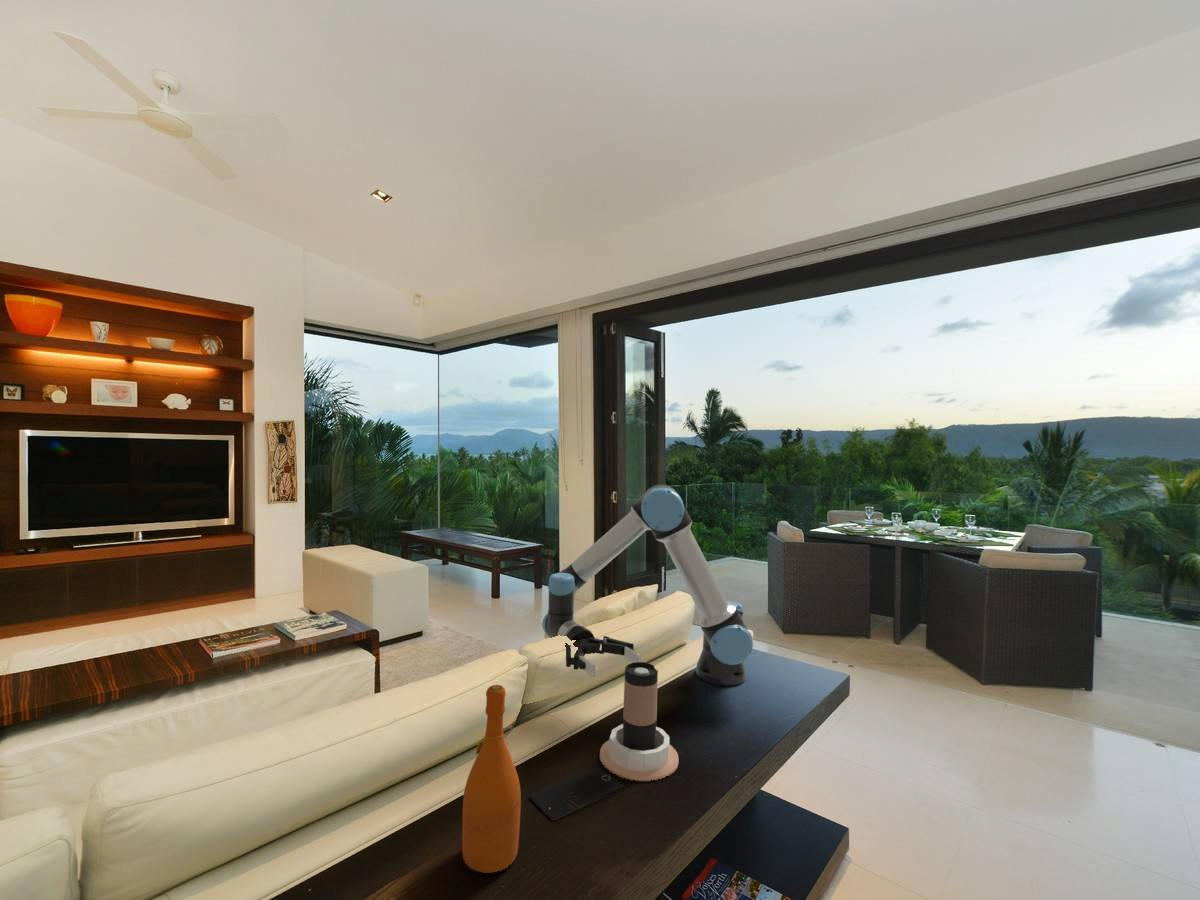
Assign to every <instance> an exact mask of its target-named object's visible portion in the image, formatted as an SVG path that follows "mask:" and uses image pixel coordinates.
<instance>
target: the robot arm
mask: <svg viewBox="0 0 1200 900" xmlns="http://www.w3.org/2000/svg"><path fill="white" fill-rule="evenodd" d="M692 524H693V520H692V518H691V517H690V514H689V513H688V511H687V509H686V507H685V505H684V501H683V499H682V498H681V496H680V495H679V493H678V492H677V491H676V489H675V488H674V487H672V486H670V485H669V484H664V483H660V484H659V483H658V484H654V485H652V486H650V487H649V488H647V490H646V491H645V492H644V493H643V494H642V496H641V497H640V498H639V499H638V500H637V501H636V502H635V503H634V504H633V505H631V507H630V512H628V513H627V514H626V515H625V516H624V517H623V518H621V519H620V520H619V521H618V522H617V523H616V524H615V525H614V526H612V527H611V528H610V529H609V530H608V531H607V532H606V533H605V534H604V535H602V536H601V537H600V538H598V540H596V542H594V543H592V545H591V546H589V548H587V549H586V550H585V551H584V552H583V553H581V554H580V555H579V556H578V557H576V559H575V560H573V562H571V564H570V565H568V566H566V567H565V568H564V569H562V570H561V571H560V572H556V573H553V574H551V575H550V576H549V579H548V580H549V581H548V585H547V588H548V606H547V607H548V610H547V613H546V614H545V615H544V617H543V619H542V623H541V626H542V629H543V630H542V631H543V632H544V633H545V635H547V636H548V637H549V638H550V639H551V638H552V637H555V636H558V635H560V636H567V637H568V638H569V639H570V640H571V641H572V640H576V641H575V642H574V643H573V645H574V646H575V647H578V650H577V651H576V653H575V654H573V655H574V656H573V657H572V652H571V648H570V647H571V645H568V644H567V643H565V644H566V645H565V647H566V656H565V667H566V668H571V666H573V669H574V670H578V669H580V670H583V671H584V672H585V673H587V674H588V675H589V676H591V677H596V675H595V674H596V664H595V663H593V662H592V661H590V660H589V659H587V658H586V657H585V656H586V655H591V654H593V655H594V654H601V655H604V654H605V653H606V654H613V655H617V656H624V659H626V660H628V662H630V663H635V662H642V655H641V654H640V653H638V652H637V651H635V648H634V647H635V645H634V643H631V642H627V641H623V640H619V639H615V638H611V637H609V636H606V635H605V636H604V635H603V637H602V639H599V638H596V637H595V636H594V633H593V632H592V630H590V629H588V628H586V627H585V626H583V625H582V624H580V623H579V622H577V621H575V620H574V614H575V613H574V612H575V610H574V609H575V596H576V593H577V592H578V591H579V590H580V589H581V588H582V587H583V586H584V585H585V584H586V583H587V582H588V581H589V580H591V579H592V578H593V577H594V576H595V575H597V574H598V573H599V572H600V571H601V570H602V569H604V568H605V567H606V566H607V565H608V564H609V563H611V561H613V559H616V557H618V555H620V554H621V553H622V552H623V551H624V550H625V549H627V548H628V547H629V546H630V545H632V543H633V542H635V541H636V540H637V539H638V538H639V537H641V536H642V535H643V534H644V533H645V532H646V531H651V532H652V534H653V537H654V538H655V540H656V541H658V542H661V543H663V544H664V546H665V548H666V550H667V552H668V555H669V556H670V558H671V561H672V562H673V563H674V566H675V568H676V570H677V572H678V574H679V575H680V578H681V579H682V582H683V583H684V586H685V587H686V590H687V591H688V593H689V595H690V598H691V599H692V601H693V603H694V605H695V607H696V609H697V611H698V613H699V615H700V620H699V622H698V624H699V626H700V629H701V631H702V633H703V635H702V636H703V638H702V639H703V640H702V649H701V652H700V655H699V658H698V659H697V662H696V666H695V669H696V670H695V674H696V676H697V677H698V678H699V679H700V680H702V681H704V682H707V683H710V684H714V685H719V686H737V685H740V684H742V683H744V682H745V681H746V679H747V673H746V668H745V664H744V662H745V661H747V660H748V659H749V657H750V655H751V654H752V651H753V648H754V642H753V636H752V634H751V631H749V630H748V628H747V626H746V624H745V622H744V620H743V619H744V618H743V617H744V616H743V614H744V607H743V605H742V604H741V603H738V602H737V601H736V602H735V601H730V600H729V601H728V600H727V599H726V597H725V595H724V593H723V590H722V589H721V587H720V585H719V583H718V580H717V579H716V576H715V575H714V573H713V571H712V569H711V567H710V565H709V564H708V563H709V562H707V559H706V558H705V556H704V554H703V552H702V549H701V547H700V546H699V544H698V542H697V539H696V538H695V535H694V534H693V532H692V531H691V527H692V526H693V525H692ZM585 654H586V655H585Z"/></svg>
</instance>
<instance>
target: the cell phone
mask: <svg viewBox="0 0 1200 900" xmlns="http://www.w3.org/2000/svg"><path fill="white" fill-rule="evenodd" d="M621 789H623V790H624V785H623V784H622V783H621V782H619V781H618V780H617V779H616V778H614V777H613V776H612V775H611V774H609V773H607V771H605V770H604V769H602V768H601V767H599V766H596V767H593V768H592V769H588V770H586V771H584V772H581V773H579V774H577V775H575V776H572V777H570V778H567V779H565V780H563V781H561V782H558V783H556V784H554V785H553V784H552V785H551V786H549V787H546V788H543V789H542V790H539V791H537V792H534V793H532V794H530V795H529V799H530V798H531V799H532V800H533V801H534V802H535V803H536V804H538V806H540V808H542V809H543V810H545V812H547V814H549V816H550V817H552V818H557V817H559V815H561V816H562V815H564V814H566V813H567V812H568V811H572V810H570V808H569V806H567V804H572V805H573V806H574V807H575V808H578V807H576V806H575V804H573V803H571V802H570V801H568V800H571V801H574V802H575V803H576V804H577V805H579V806H581V805H584V804H587V803H589V802H592V801H594V800H597V799H599V798H602V797H605V796H607V795H610V794H612V793H614V792H616V791H618V792H620V791H619V790H621ZM575 791H577V792H575ZM621 791H622V790H621ZM570 792H573V793H570ZM568 793H570V794H571V795H570V794H568ZM582 793H583V794H582ZM616 793H617V792H616ZM614 794H615V793H614ZM581 795H582V796H581ZM612 795H613V794H612ZM570 796H571V797H572V798H567V797H570ZM573 796H577V797H573ZM610 796H611V795H610ZM577 798H581V799H577ZM572 799H576V800H572ZM564 800H565V801H564ZM582 800H583V801H582ZM577 801H579V802H577ZM585 802H587V803H585ZM561 803H562V804H561ZM581 803H583V804H581ZM559 808H562V809H559ZM560 810H562V811H560ZM561 812H562V813H561Z"/></svg>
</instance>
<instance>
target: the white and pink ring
mask: <svg viewBox="0 0 1200 900" xmlns="http://www.w3.org/2000/svg"><path fill="white" fill-rule="evenodd" d="M599 760H600V762H602V763H601V765H602V766H603V765H604V766H603V767H604V768H605V769H606V768H607V769H608V770H609V771H608V770H607V769H606V770H607V771H608V772H609V773H611V772H612V773H611V774H613V775H614V774H616V775H615V776H617V775H618V776H617V777H618V778H619V777H620V778H621V777H622V778H621V779H624V778H626V779H625V780H628V779H629V781H633V780H635V781H636V782H654V781H653V780H655V781H658V779H660V780H663V779H665V777H666V776H668V777H670V776H671V775H673V773H675V771H676V770H677V769H678V767H679V762H680V761H679V754H678V752H677V750H676V749H675V748H674V746H672V745H671V744H670V735H669V734H667V732H666V731H665V730H664V729H662V728H661V727H658V726H656V737H655V749H653V750H647V751H640V750H633V749H629V748H627V747H625V746H623V723H621V724H620V725H618V726H616V727H614V728H613V729H611V733H610V736H609V739H608V740H607V741H605V742H604V743H603V744H602V745H601V747H600V750H599ZM670 774H671V775H670ZM662 778H663V779H662ZM666 778H667V777H666ZM651 780H652V781H651Z"/></svg>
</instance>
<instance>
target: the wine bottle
mask: <svg viewBox="0 0 1200 900" xmlns="http://www.w3.org/2000/svg"><path fill="white" fill-rule="evenodd" d="M485 693H486V694H485V696H486V706H485V714H486V716H487V719H486V725H485V726H486V727H485V728H486V729H485V733H484V735H483V738H484V739H481V740H478V743H477V745H476V750H475V755H477V756H476V758H475V760H474V763H473V764H472V767H471V769H470V771H469V774H468V777H467V780H466V782H465V786H464V791H463V799H462V800H463V801H462V822H461V823H462V824H461V825H462V830H461V832H462V836H461V838H462V839H461V840H462V841H461V843H462V845H461V846H462V847H461V849H462V851H461V852H462V859H463V862H464V861H465V862H464V864H465V863H466V864H467V865H468V866H469V867H470V868H472V869H474V870H476V871H479V872H483V873H491V872H492V874H494V873H493V872H497V871H500V872H502V871H504V870H506V869H508V868H509V867H510V866H511V865H512V863H514V861H515V859H516V857H517V855H518V850H519V840H520V826H521V809H522V808H521V806H522V805H521V803H522V802H521V801H522V800H521V799H522V798H521V797H522V796H521V794H522V793H521V792H522V791H521V783H520V779H519V775H518V772H517V769H516V766H515V762H514V761H513V759H512V756H511V754H510V751H509V749H508V746H507V743H506V740H505V733H504V713H505V712H506V706H505V702H506V688H505V687H504V686H503V685H500V684H492V685H491V686H489V687H487V689H486V692H485ZM466 864H465V865H466ZM467 865H466V866H467ZM509 865H510V866H509ZM468 866H467V867H468ZM508 866H509V867H508ZM470 868H469V869H470ZM505 868H506V869H505ZM503 869H504V870H503ZM501 870H502V871H501ZM497 873H498V872H497Z"/></svg>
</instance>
